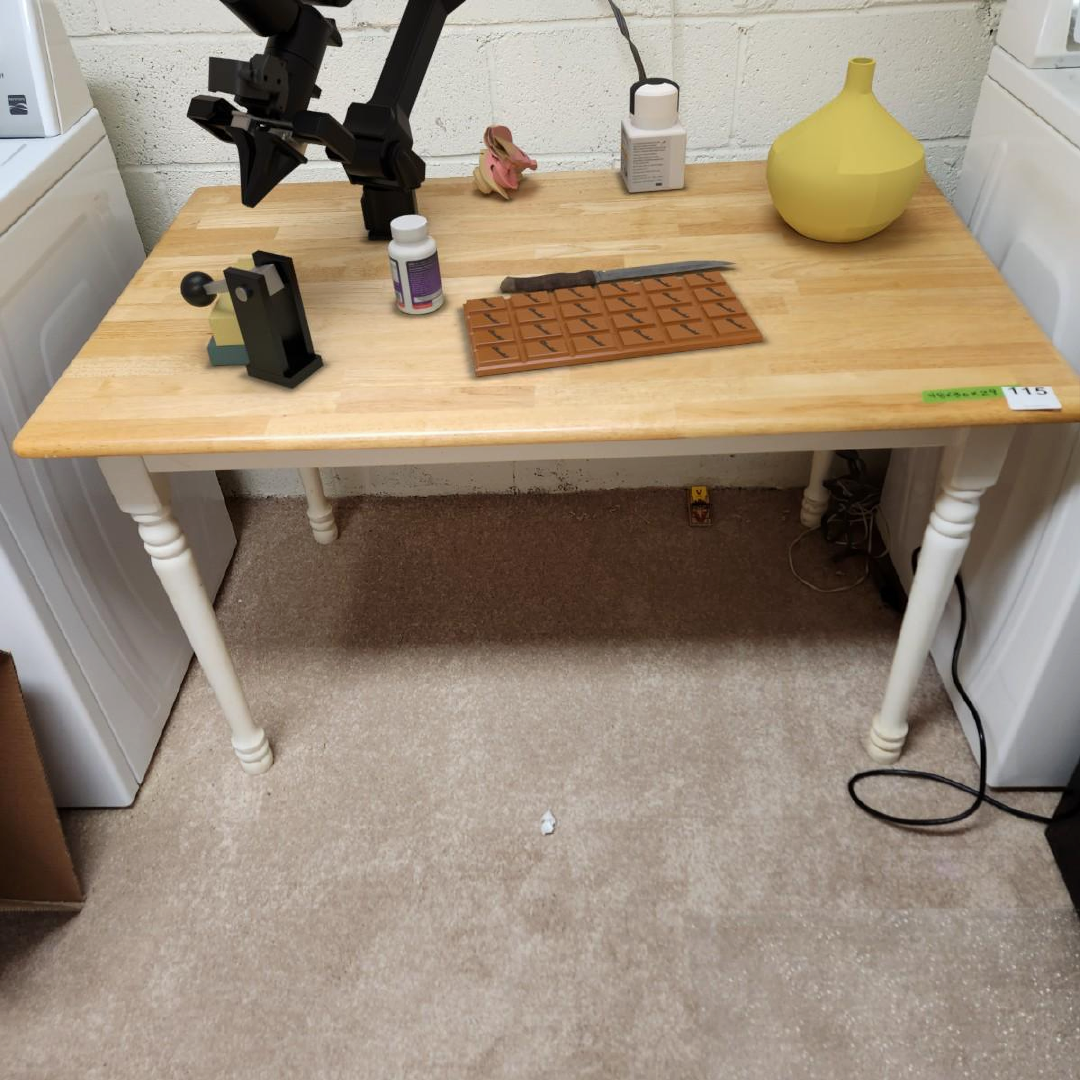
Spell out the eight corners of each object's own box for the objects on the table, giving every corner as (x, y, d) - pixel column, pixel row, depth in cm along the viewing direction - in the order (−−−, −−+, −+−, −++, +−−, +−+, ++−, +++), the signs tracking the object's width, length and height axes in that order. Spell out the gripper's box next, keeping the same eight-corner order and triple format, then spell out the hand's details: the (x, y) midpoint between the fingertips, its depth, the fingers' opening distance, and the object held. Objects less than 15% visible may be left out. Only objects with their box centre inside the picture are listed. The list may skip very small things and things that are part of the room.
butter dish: (286, 298, 108) (281, 281, 107) (260, 363, 97) (255, 345, 96) (242, 300, 108) (237, 283, 107) (211, 366, 98) (205, 347, 96)
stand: (244, 377, 95) (212, 271, 88) (283, 350, 99) (255, 246, 91) (289, 391, 93) (260, 283, 85) (326, 362, 97) (302, 256, 89)
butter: (245, 284, 107) (238, 258, 104) (273, 282, 107) (266, 256, 104) (216, 346, 96) (207, 318, 94) (246, 344, 96) (238, 317, 94)
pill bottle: (451, 296, 107) (441, 214, 100) (432, 318, 103) (421, 234, 97) (409, 290, 108) (396, 209, 102) (389, 312, 104) (374, 229, 98)
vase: (847, 273, 106) (881, 97, 93) (729, 226, 117) (744, 62, 104) (940, 226, 114) (983, 58, 102) (821, 186, 125) (846, 30, 112)
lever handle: (184, 314, 96) (166, 281, 94) (208, 299, 98) (192, 267, 96) (267, 305, 89) (250, 270, 87) (292, 289, 91) (276, 254, 89)
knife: (729, 259, 110) (730, 248, 110) (738, 272, 108) (739, 261, 107) (498, 285, 108) (497, 274, 107) (502, 299, 106) (501, 288, 105)
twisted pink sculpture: (475, 211, 126) (446, 147, 126) (507, 219, 135) (481, 160, 135) (529, 175, 122) (499, 108, 122) (559, 186, 131) (532, 124, 130)
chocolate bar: (463, 309, 104) (462, 297, 103) (720, 279, 107) (721, 267, 106) (476, 376, 93) (475, 364, 93) (761, 341, 96) (763, 329, 95)
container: (620, 173, 132) (621, 75, 124) (673, 168, 133) (678, 71, 124) (628, 193, 127) (630, 93, 118) (684, 189, 127) (690, 88, 118)
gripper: (170, 9, 93) (125, 158, 94) (314, 24, 86) (264, 185, 86) (244, 71, 103) (203, 205, 104) (378, 88, 96) (333, 232, 97)
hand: (247, 206), depth 98 cm, fingers closed
